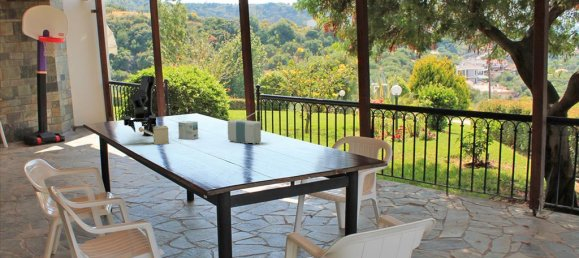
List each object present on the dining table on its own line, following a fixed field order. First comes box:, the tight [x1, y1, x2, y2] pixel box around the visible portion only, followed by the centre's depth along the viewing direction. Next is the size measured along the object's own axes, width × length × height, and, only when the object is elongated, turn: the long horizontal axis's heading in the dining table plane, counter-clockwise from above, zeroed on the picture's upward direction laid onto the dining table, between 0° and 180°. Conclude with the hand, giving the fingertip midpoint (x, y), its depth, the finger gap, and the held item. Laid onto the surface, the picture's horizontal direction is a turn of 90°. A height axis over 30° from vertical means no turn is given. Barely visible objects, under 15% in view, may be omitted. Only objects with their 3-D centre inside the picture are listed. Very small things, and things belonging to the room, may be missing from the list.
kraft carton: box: [153, 125, 170, 145], centre depth 337 cm, size 8×10×10 cm
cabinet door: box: [138, 126, 154, 137], centre depth 334 cm, size 2×9×9 cm
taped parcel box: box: [227, 110, 262, 145], centre depth 337 cm, size 21×8×20 cm, turn 56°
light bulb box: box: [177, 120, 199, 140], centre depth 352 cm, size 11×7×11 cm, turn 71°
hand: (141, 131), depth 329 cm, fingers open, 7 cm apart
